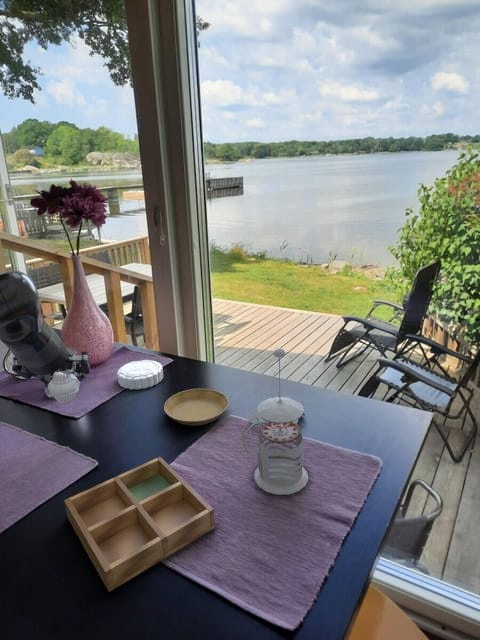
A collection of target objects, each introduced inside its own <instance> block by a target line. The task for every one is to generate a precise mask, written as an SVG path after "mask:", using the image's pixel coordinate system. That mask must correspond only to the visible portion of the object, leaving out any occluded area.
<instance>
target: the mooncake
mask: <svg viewBox="0 0 480 640" xmlns="http://www.w3.org/2000/svg"><path fill="white" fill-rule="evenodd" d="M163 370H164V369H163V365H162V364H161V363H160V362H157V361H155V360H151V359H142V360H134V361H133V360H132V361H130V362H127V363H125V364H124V365H122V366H121V367H119V369H118V370H117V372H116V375H117V383H118V384H119V386H120V387H122V388H124V389H129V390H136V391H137V390H142V389H143V390H145V389H147V388H152V387H154V386H155V385H158V384H159V383H160V382H162V380H163V379H164V371H163Z"/></svg>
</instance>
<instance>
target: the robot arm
mask: <svg viewBox="0 0 480 640" xmlns="http://www.w3.org/2000/svg"><path fill="white" fill-rule="evenodd" d="M0 342H1V343H2V344H3V345H5V346H6V347H7V348H8V349H9V350H10V352H11V353H12V355H13V356H14V357H12V363H11V364H12V365H11V371H13V372H14V373H15V374H17V375H19V376H20V377H22V378H24V379H25V380H31V379H32V378H34V379H35V380H39V381H40V382H41V383H44V384H45V385H48V384H49V383H50V381H51V374H54V373H55V372H57V373H59V372H61V373H64V374H66V375H71V374H72V375H73V376H74V377H76V378H77V379H78V380H79V382H83V381H84V379H86V375H90V374H91V359H90V354H89V352H88V351H81V353H80V354H79V355H74V354H73V353H71V352H69V351H68V349H67V347H66V345H65V343H64V342H63V340H62V339H61V337H60V336H59V335H58V333H57V332H56V331H55V329H54V328H53V327H52V326H51V325H50V324H49V323H48V322H47V321H46V319H45V318H44V317H43V316H42V314H41V301H40V295H39V290H38V288H37V286H36V283H35V282H34V280H33V279H32V278H31V277H30V275H28V274H27V273H25V272H23V271H20V270H15V269H14V270H5V271H3V272H1V273H0Z"/></svg>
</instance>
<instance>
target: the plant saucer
mask: <svg viewBox="0 0 480 640" xmlns="http://www.w3.org/2000/svg"><path fill="white" fill-rule="evenodd" d="M229 404H230V401H229V398H228V396H226V395H225V394H224V392H221V391H218V390H216V389H210V388H192V389H187V390H186V389H185V390H183V391H180V392H177V393H175V394H172V396H170V397H168V399H167V400H166V401H165V402H164V405H163V410H164V413H165V414H166V415H167V416H168V417H169V418H170V419H172V420H173V421H175V422H177V423H178V424H181V425H185V426H190V427H191V426H192V427H193V426H194V427H196V426H197V427H198V426H203V425H208V424H209V423H212V422H215V421H216V420H217V419H219V418H220V417H221V416H222V415H223V414H224V413H225V412H226V410H227V408H229Z"/></svg>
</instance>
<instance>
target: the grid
mask: <svg viewBox="0 0 480 640" xmlns="http://www.w3.org/2000/svg"><path fill="white" fill-rule="evenodd" d="M63 502H64V508H65V511H66V515H67V520H68V522H69V523H70V525H71V526H72V528H73V530H74V532H75V534H76V535H77V537H78V539H79V541H80V543H81V544H82V546H83V548H84V550H85V552H86V554H87V555H88V557H89V559H90V560H91V562H92V564H93V566H94V567H95V569H96V572H97V573H98V575H99V577H100V580H101V581H102V583H103V584H104V586H105V588H106V589H107V591H108V593H110V592H112V591H113V590H115V589H117V588H118V587H120V586H122V585H123V584H125V583H127V582H129V581H130V580H132V579H133V578H135V577H137V576H138V575H140V574H142V573H144V572H145V571H146V570H148V569H150V568H151V567H153V566H155V565H156V564H158V563H160V562H161V561H163V560H165V559H166V558H168V557H169V556H171V555H173V554H174V553H176V552H178V551H179V550H181V549H182V548H184V547H186V546H187V545H190V544H191V543H192V542H194V541H196V540H198V539H199V538H200V537H202V536H204V535H206V534H208V533H209V532H211V531H212V530H214V529H215V528H216V520H215V519H216V517H215V509H214V507H212V505H210V504H209V503H208V502H207V501H206V500H205V499H204V498H203V497H202V495H200V493H198V492H197V491H196V490H195V489H194V488H193V487H192V486H191V485H190V484H189V483H188V482H187V481H186V480H185V479H184V478H183V477H182V476H181V475H180V474H178V472H177V471H176V470H175V469H174V468H173V467H171V466H170V465H169V463H168V462H167V461H165V459H164V458H162V456H157V457H156V458H154V459H152V460H149V461H147V462H145V463H143V464H140V465H138V466H136V467H134V468H131V469H130V470H128V471H127V470H126V471H125V472H123V473H121V474H119V475H116V476H114V477H112V478H110V479H108V480H105V481H104V482H101V483H98V484H97V485H94V486H93V487H90V488H89V489H85V490H84V491H82V492H79V493H76V494H75V495H73V496H70V497H69V498H66V499H64V500H63Z"/></svg>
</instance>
